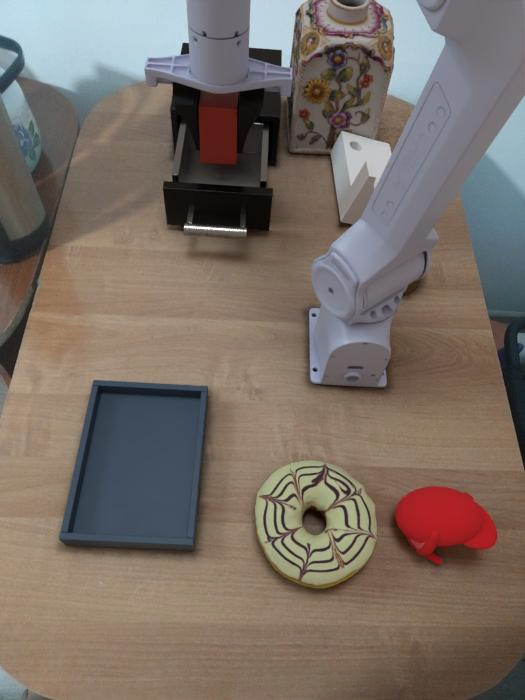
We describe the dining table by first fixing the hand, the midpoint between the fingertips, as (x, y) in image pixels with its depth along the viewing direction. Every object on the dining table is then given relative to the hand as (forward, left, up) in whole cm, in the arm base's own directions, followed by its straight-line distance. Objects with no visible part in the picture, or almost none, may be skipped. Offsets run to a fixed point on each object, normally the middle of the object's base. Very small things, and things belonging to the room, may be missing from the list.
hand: (220, 146), depth 63 cm
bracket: (+5, -19, -10) cm, 22 cm away
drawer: (0, 0, -8) cm, 8 cm away
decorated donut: (-39, -11, -10) cm, 42 cm away
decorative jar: (+17, -14, -10) cm, 24 cm away
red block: (0, 0, -1) cm, 1 cm away
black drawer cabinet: (+16, 0, -9) cm, 18 cm away
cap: (-39, -22, -10) cm, 46 cm away
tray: (-34, +5, -9) cm, 36 cm away
